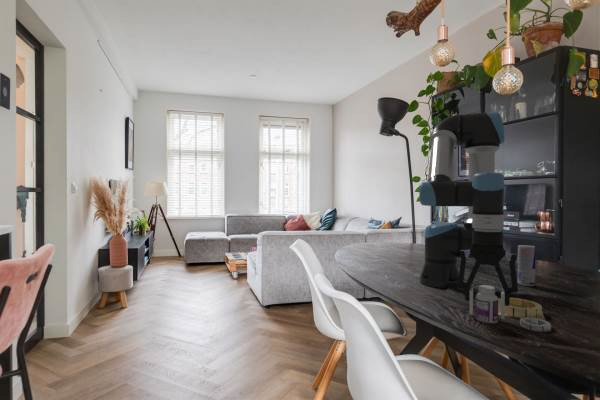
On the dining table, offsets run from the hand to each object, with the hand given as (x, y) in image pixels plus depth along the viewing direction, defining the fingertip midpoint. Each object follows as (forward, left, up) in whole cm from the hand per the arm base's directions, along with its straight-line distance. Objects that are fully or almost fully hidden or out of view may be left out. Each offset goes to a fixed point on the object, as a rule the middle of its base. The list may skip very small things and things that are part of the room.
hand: (486, 314), depth 96 cm
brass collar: (+8, +11, -1) cm, 14 cm away
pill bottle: (0, 0, -2) cm, 2 cm away
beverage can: (+13, +51, -2) cm, 53 cm away
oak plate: (+8, +11, -2) cm, 14 cm away
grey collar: (+11, 0, -2) cm, 11 cm away
